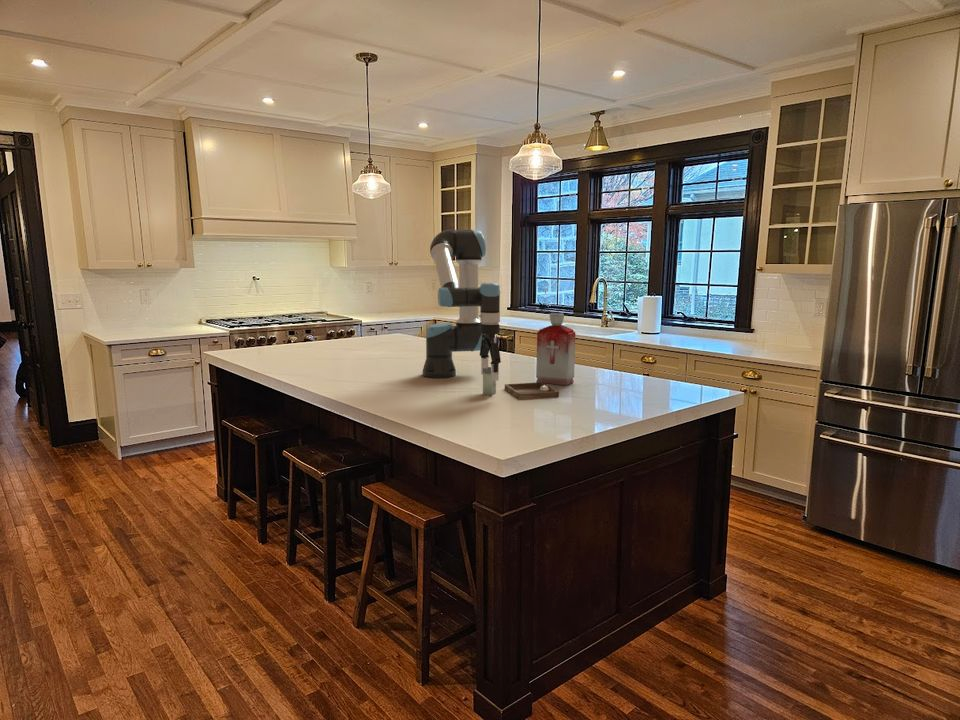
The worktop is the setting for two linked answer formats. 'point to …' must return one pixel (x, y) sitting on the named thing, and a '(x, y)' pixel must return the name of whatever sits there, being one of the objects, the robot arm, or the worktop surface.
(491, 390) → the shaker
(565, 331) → the bottle
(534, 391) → the tray
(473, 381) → the worktop surface
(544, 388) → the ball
